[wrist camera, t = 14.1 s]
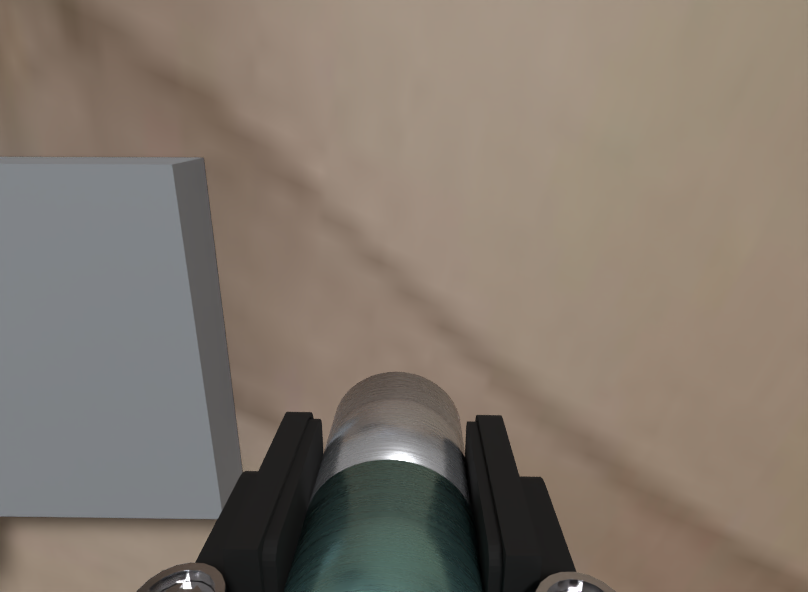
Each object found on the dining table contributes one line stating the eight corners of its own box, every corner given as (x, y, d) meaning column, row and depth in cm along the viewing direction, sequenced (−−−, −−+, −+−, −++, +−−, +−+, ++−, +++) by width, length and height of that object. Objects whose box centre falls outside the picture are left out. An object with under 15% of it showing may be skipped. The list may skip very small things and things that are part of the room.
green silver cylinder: (458, 484, 13) (510, 944, 6) (336, 481, 14) (230, 932, 6) (463, 373, 12) (533, 751, 5) (331, 370, 13) (197, 739, 5)
